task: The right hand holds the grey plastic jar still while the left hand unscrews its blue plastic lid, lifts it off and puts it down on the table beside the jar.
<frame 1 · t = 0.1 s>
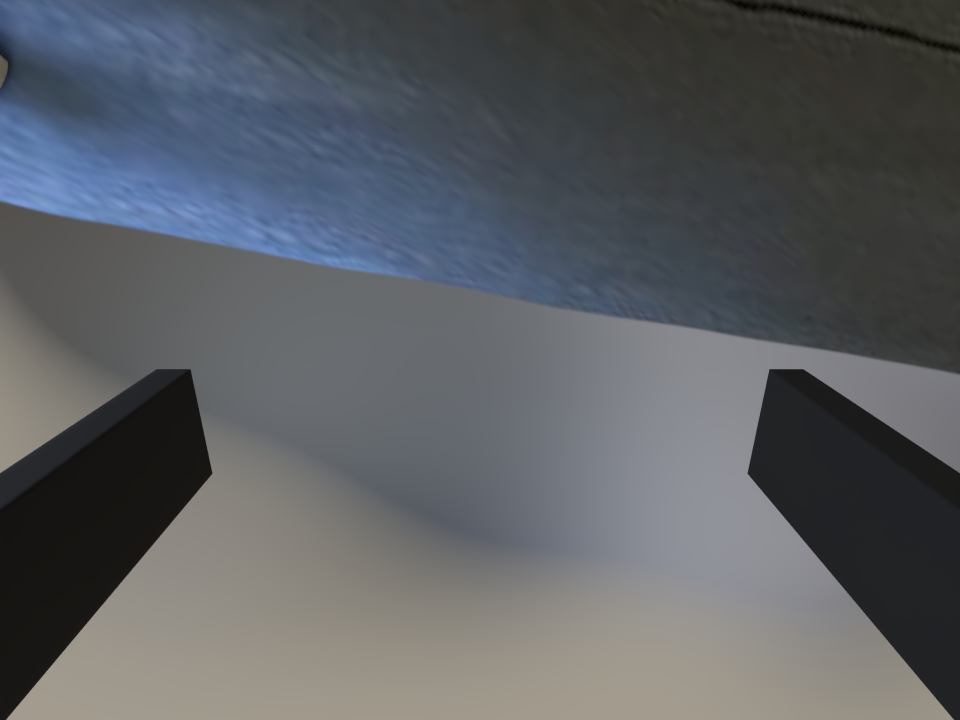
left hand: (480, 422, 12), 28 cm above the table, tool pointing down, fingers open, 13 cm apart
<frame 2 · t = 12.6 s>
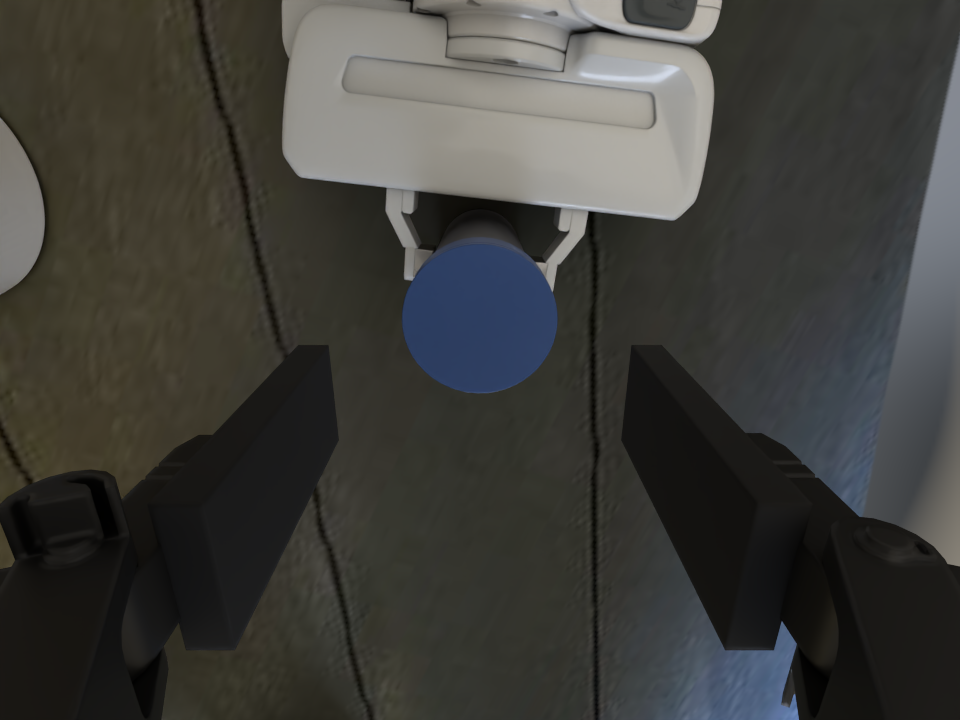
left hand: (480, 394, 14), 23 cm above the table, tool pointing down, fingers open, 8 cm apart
right hand: (478, 285, 29), fingers closed on jar, 5 cm apart
lid: (479, 319, 20), point 16 cm above the table, screwed on, not yet turned
jar: (480, 249, 35), on the table, touching right hand
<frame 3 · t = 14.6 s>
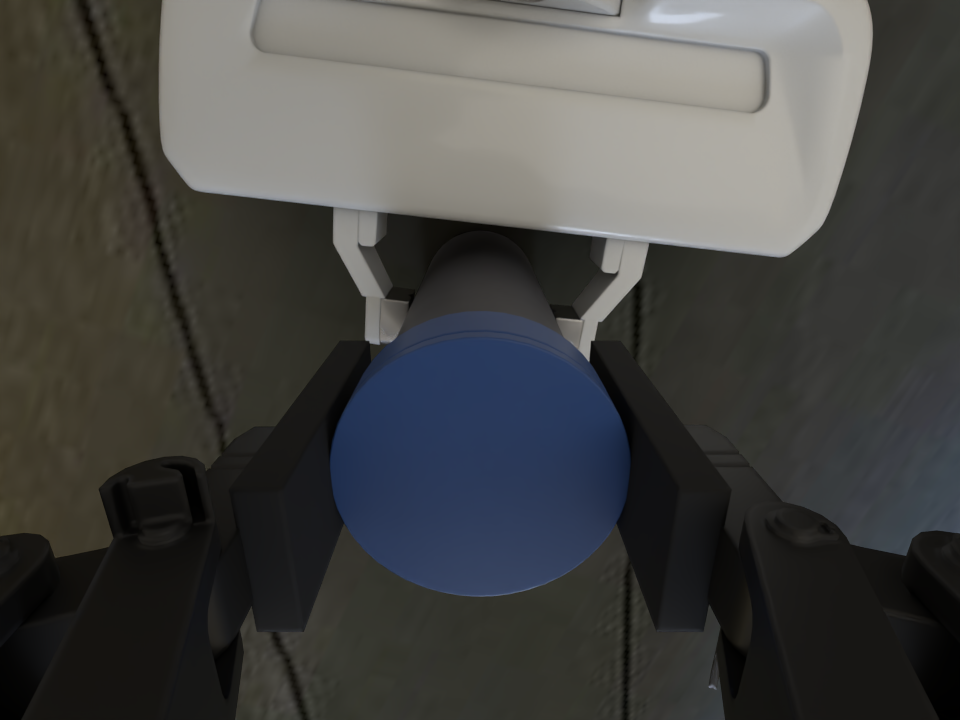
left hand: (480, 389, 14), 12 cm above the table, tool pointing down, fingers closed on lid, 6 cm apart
right hand: (478, 350, 20), fingers closed on jar, 5 cm apart
lid: (480, 470, 10), point 16 cm above the table, screwed on, not yet turned, touching left hand
jar: (480, 285, 25), on the table, touching right hand
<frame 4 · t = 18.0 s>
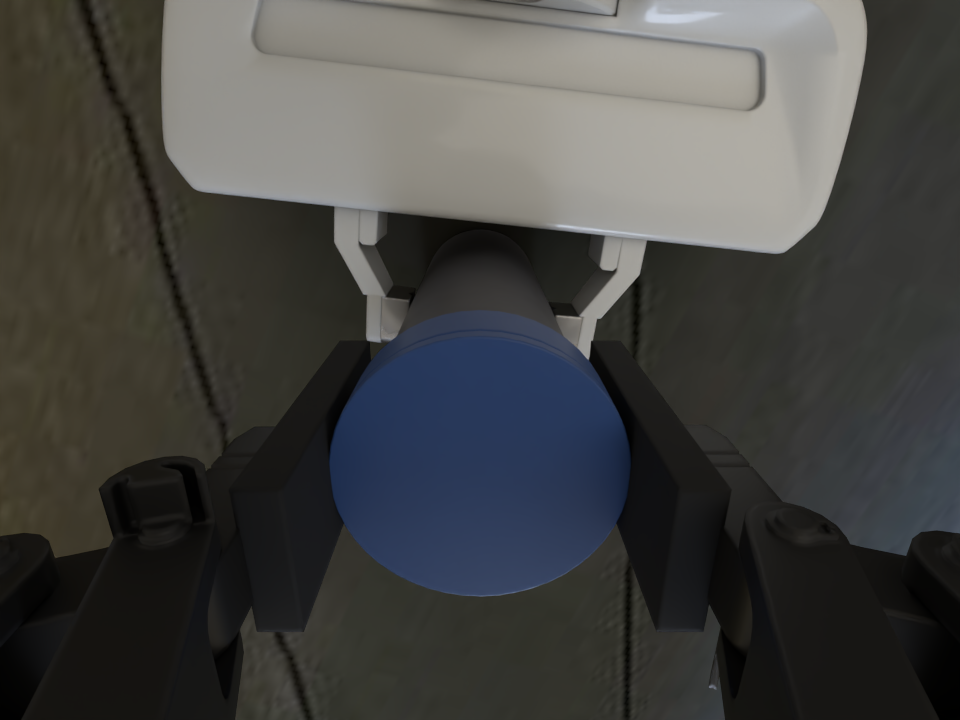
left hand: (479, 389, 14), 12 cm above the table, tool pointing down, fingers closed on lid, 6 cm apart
right hand: (478, 347, 20), fingers closed on jar, 5 cm apart
lid: (480, 469, 10), point 16 cm above the table, turned 122° so far, risen 0.2 cm, still on its thread, touching left hand
jar: (480, 283, 25), on the table, touching right hand
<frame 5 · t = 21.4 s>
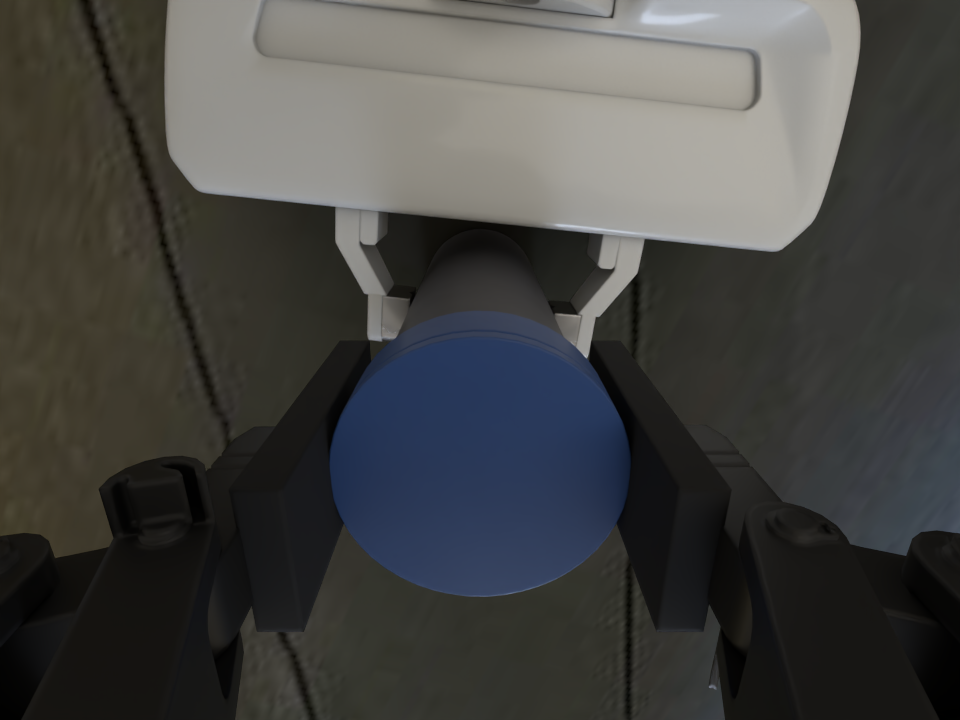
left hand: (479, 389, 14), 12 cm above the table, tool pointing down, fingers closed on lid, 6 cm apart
right hand: (478, 346, 20), fingers closed on jar, 5 cm apart
lid: (480, 470, 10), point 16 cm above the table, turned 244° so far, risen 0.4 cm, still on its thread, touching left hand
jar: (480, 282, 26), on the table, touching right hand
when the left hand's fingers open (0 cm above the table, at t = 31.8 s): lid drops 3 cm, point 1 cm above the table.
when the right hand's fingers open (7 cm above the table, at t = 32.5 s): jar stays where it is, on the table.
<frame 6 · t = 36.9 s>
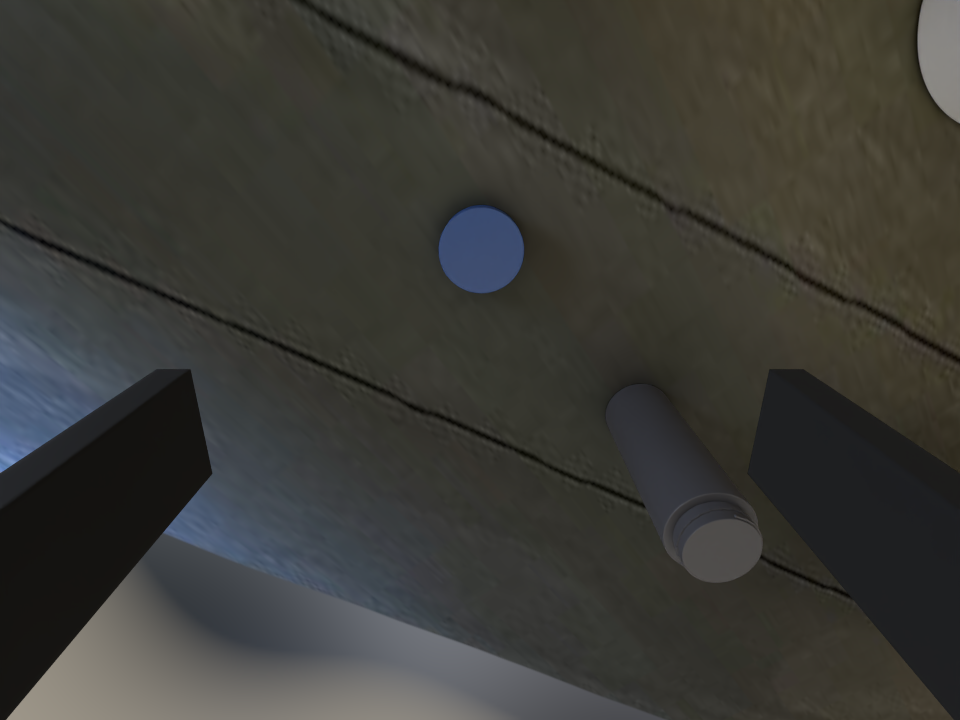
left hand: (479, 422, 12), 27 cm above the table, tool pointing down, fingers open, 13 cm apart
lid: (481, 250, 36), point 1 cm above the table, off its thread
jar: (637, 413, 42), on the table
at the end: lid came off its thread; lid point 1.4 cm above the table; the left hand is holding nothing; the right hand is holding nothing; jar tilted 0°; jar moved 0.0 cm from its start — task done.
